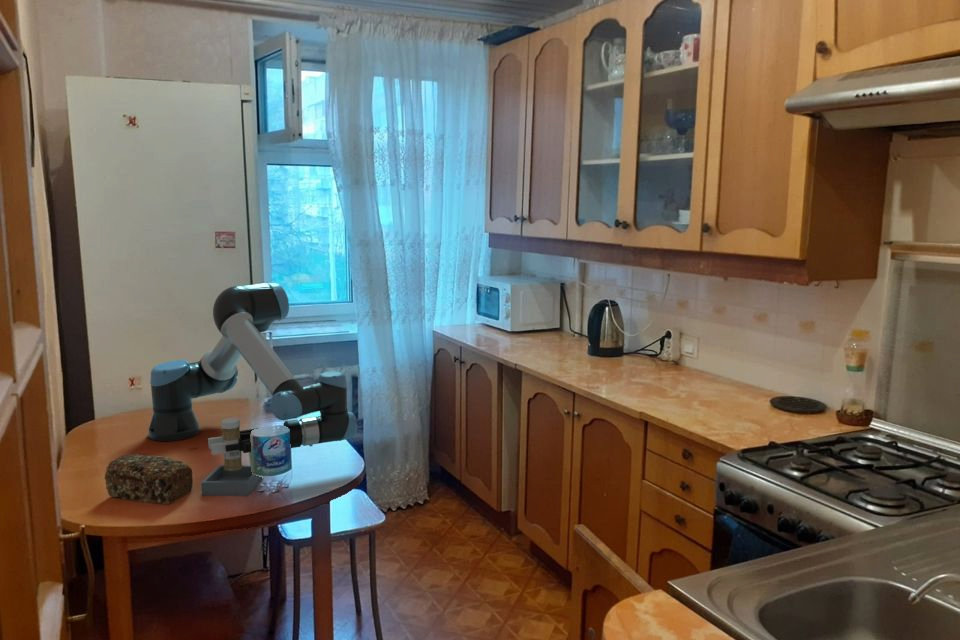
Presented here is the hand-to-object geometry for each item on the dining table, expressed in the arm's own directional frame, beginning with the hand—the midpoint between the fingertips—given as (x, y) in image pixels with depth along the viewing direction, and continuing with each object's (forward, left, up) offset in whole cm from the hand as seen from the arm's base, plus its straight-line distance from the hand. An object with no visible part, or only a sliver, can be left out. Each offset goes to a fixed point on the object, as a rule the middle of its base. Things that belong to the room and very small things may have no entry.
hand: (210, 446), depth 181 cm
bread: (-15, -3, -12) cm, 20 cm away
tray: (+5, +3, -12) cm, 13 cm away
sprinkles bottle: (+5, +3, -7) cm, 9 cm away
